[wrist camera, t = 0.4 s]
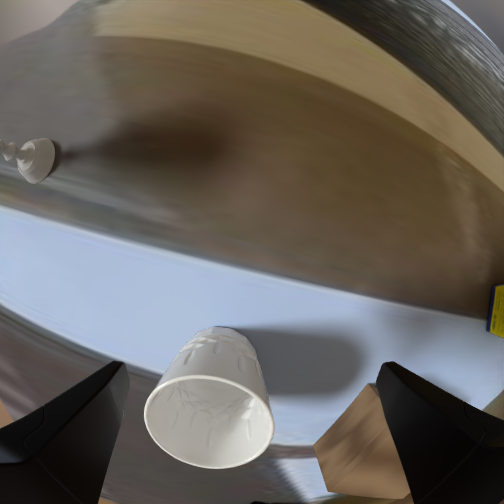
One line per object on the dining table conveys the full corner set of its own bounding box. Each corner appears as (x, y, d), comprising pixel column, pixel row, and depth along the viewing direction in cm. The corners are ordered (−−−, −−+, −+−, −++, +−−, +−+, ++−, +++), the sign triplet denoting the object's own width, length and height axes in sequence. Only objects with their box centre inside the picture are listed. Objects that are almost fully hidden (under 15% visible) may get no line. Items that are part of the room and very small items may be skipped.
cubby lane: (381, 463, 26) (402, 498, 19) (313, 445, 25) (327, 491, 18) (429, 411, 26) (459, 442, 18) (367, 383, 25) (399, 423, 17)
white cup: (189, 307, 24) (156, 355, 14) (276, 335, 24) (295, 396, 14) (168, 380, 24) (137, 446, 14) (247, 404, 25) (249, 478, 15)
